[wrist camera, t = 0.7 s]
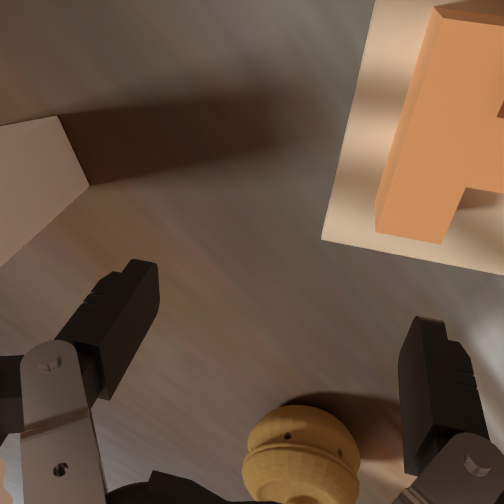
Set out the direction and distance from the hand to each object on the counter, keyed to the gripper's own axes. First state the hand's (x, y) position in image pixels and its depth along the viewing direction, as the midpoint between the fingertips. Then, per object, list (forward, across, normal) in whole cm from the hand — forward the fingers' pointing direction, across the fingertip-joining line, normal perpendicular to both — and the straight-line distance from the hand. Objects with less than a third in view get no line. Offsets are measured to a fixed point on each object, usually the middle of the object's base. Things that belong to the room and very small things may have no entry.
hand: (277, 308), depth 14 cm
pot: (+19, -4, +34) cm, 40 cm away
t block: (+18, -11, 0) cm, 21 cm away
